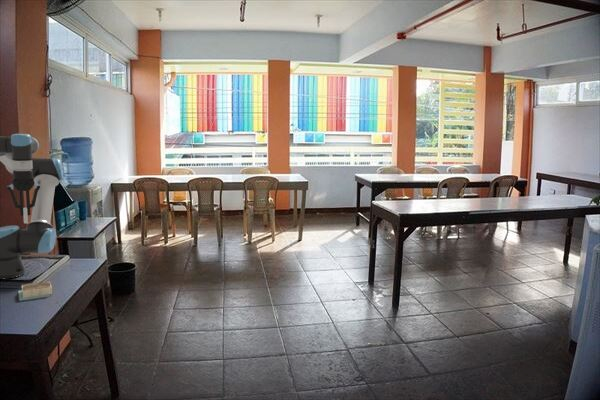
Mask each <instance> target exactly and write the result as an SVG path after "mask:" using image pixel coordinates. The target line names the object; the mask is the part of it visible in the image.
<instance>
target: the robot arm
mask: <svg viewBox="0 0 600 400" xmlns="http://www.w3.org/2000/svg"><path fill="white" fill-rule="evenodd" d="M39 148H40V143H39V141H38V140H37V138H35V137H32V136H31V135H30V134H28V133H14V134H11V135H10V136H1V135H0V162H1V163H2V164H3V165H4V166H5V169H6V170H7V171H8V172H9V173H10V174H11V175H12V177H13V179H12V180H13V181H12V183H11V184H10V185H7V186H6V189H7V190H8V192H9V193H10V196H11V198H12V202H13V204H14V207H15V208H17V209H19V213H20V216H21V217H23V224H26V225H25V226H26V227H25V228H20V227H19V226H18V225H15V224H14V225H6V226H5V225H4V226H1V227H0V279H3V278H12V277H16V276H19V275H21V274H24V273H25V272H26V271H27V270H26V267H25V264H24V261H23V259H22V257H21V254H45V253H46V254H47V253H50V252H52V251H53V249H54V247H55V245H56V239H57V231H56V229H55V228H54V226H53V225H52V223H51V219H52V214H53V213H52V212H53V204H54V197H55V189H56V187H57V186H58V185H59V184H60V182H61V181H64V170H63V164H62V161H61V159H59V158H54V157H53V158H52V157H51V158H47V157H45V158H44V157H33V154H34V153H36V152H37V151H38V150H39ZM14 188H15V189H16V190H17V191H18V198H19V202H18V201H17V198H16V195H15V193H14ZM33 188H34V190H33V196H32V198H30V197H31V196H30V191H31V189H33ZM23 192H25V200H26V207H24V197H23V194H24V193H23ZM30 199H31V201H30ZM18 203H19V204H18ZM31 208H32V211H31ZM28 216H31V218H30V222H29V217H28ZM25 274H26V273H25ZM25 274H24V275H25Z"/></svg>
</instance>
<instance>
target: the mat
mask: <svg viewBox="0 0 600 400" xmlns="http://www.w3.org/2000/svg"><path fill="white" fill-rule="evenodd" d="M49 297H51V294H47V295H40V296H33V297H27V298H23V295H22V289H21V290H18V301H19V302H21V301H28V300H36V299H42V298H49Z"/></svg>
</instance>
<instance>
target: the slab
mask: <svg viewBox="0 0 600 400" xmlns="http://www.w3.org/2000/svg"><path fill="white" fill-rule="evenodd" d="M21 290H22V295H23V298H27V297H33V296H40V295H47V294H50V295H53V287H52V283H51V281H49V280H48V281H42V282H35V283H27V284H21Z"/></svg>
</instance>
